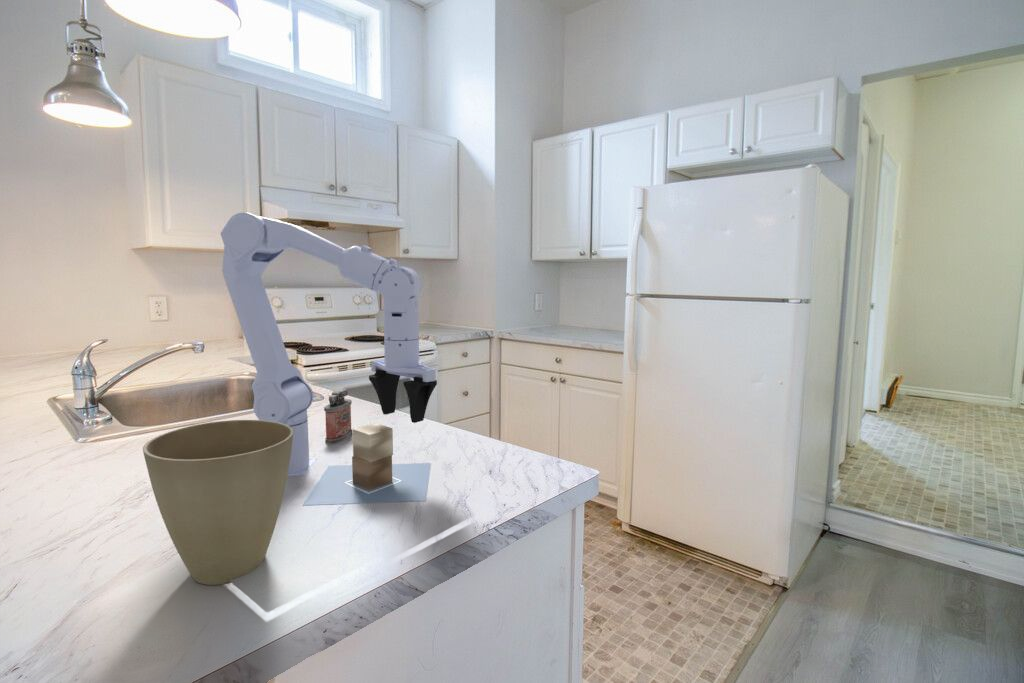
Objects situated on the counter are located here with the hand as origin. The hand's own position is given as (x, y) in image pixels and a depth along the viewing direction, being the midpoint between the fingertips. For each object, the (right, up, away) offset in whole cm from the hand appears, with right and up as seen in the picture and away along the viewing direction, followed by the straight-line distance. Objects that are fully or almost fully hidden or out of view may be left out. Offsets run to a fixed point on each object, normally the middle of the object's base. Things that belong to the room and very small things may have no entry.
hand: (402, 417), depth 89 cm
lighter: (-18, -8, +21) cm, 28 cm away
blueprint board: (-4, -11, -4) cm, 12 cm away
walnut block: (-4, -10, -4) cm, 12 cm away
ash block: (-4, -6, -4) cm, 8 cm away
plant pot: (-14, -14, -28) cm, 34 cm away
